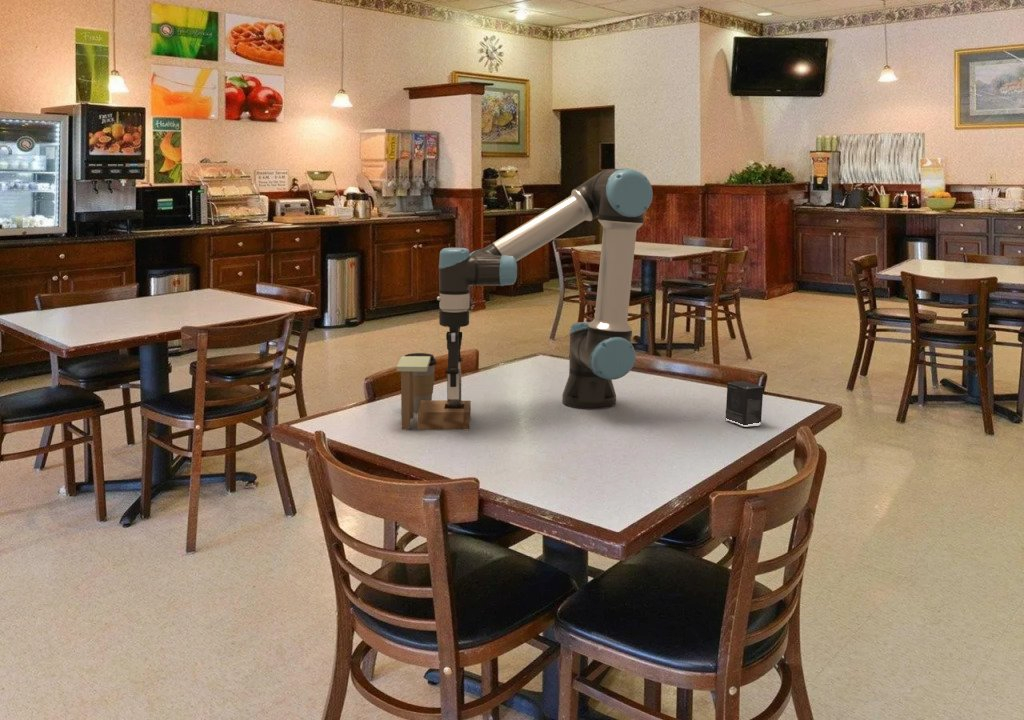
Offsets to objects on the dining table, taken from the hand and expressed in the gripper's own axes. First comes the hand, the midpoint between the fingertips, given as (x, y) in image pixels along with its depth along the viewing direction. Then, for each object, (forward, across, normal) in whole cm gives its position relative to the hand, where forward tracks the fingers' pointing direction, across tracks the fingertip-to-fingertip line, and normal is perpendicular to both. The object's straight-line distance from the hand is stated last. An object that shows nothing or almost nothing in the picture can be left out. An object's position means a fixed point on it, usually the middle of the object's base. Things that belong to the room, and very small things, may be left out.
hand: (454, 392), depth 239 cm
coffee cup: (+8, -13, -10) cm, 18 cm away
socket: (+8, 0, -3) cm, 9 cm away
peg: (+8, 0, 0) cm, 8 cm away
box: (+8, -1, +75) cm, 75 cm away
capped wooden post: (+8, 0, -10) cm, 13 cm away
